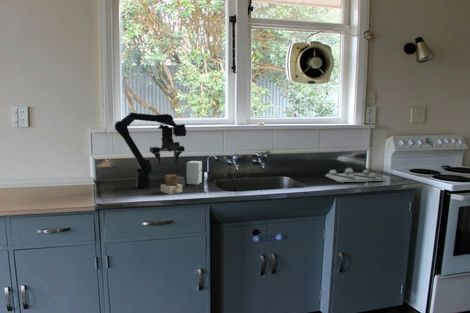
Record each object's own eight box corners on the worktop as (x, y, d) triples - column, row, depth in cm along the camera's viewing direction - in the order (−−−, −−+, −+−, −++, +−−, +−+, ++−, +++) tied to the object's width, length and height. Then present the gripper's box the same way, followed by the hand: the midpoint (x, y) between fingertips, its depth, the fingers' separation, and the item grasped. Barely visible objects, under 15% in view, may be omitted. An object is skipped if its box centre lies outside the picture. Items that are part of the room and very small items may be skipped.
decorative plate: (339, 184, 238) (340, 172, 237) (324, 177, 258) (325, 166, 257) (385, 182, 244) (386, 171, 243) (367, 176, 265) (367, 165, 264)
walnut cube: (168, 186, 208) (168, 176, 208) (165, 184, 213) (165, 175, 212) (177, 185, 211) (177, 176, 210) (174, 183, 215) (174, 174, 214)
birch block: (170, 194, 207) (170, 187, 206) (160, 192, 212) (160, 184, 212) (182, 192, 213) (182, 184, 212) (172, 189, 218) (172, 182, 217)
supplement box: (198, 184, 230) (198, 162, 228) (186, 184, 232) (186, 162, 230) (202, 182, 237) (202, 161, 235) (190, 181, 239) (190, 160, 237)
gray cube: (176, 187, 223) (176, 178, 222) (172, 185, 227) (172, 177, 226) (184, 186, 225) (184, 177, 225) (181, 184, 230) (181, 176, 229)
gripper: (156, 138, 212) (156, 167, 214) (188, 137, 221) (188, 165, 223) (149, 136, 221) (149, 164, 223) (180, 135, 231) (180, 162, 233)
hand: (167, 164), depth 225 cm, fingers open, 9 cm apart
